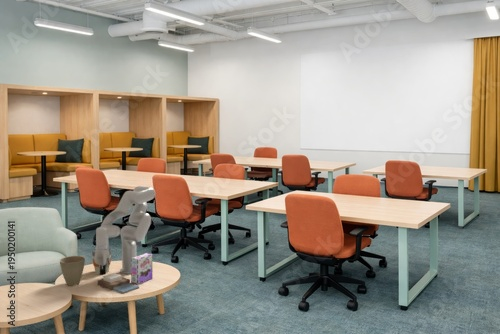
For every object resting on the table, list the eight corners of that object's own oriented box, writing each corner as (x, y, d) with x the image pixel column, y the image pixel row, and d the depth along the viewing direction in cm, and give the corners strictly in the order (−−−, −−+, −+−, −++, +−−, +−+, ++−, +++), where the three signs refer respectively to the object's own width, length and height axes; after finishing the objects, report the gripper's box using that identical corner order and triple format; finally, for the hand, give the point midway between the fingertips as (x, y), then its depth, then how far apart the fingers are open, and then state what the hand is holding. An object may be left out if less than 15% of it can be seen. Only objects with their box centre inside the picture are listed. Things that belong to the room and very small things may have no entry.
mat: (128, 284, 288) (128, 282, 288) (139, 288, 282) (139, 286, 282) (112, 289, 278) (112, 288, 278) (123, 293, 272) (123, 292, 272)
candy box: (137, 284, 288) (137, 259, 286) (130, 282, 291) (130, 257, 289) (152, 278, 300) (152, 254, 298) (146, 276, 303) (146, 252, 301)
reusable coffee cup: (108, 274, 305) (107, 253, 304) (89, 274, 305) (89, 252, 304) (114, 269, 318) (113, 247, 316) (96, 268, 318) (95, 247, 317)
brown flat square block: (115, 279, 297) (115, 274, 296) (129, 284, 288) (129, 279, 288) (97, 285, 285) (97, 280, 285) (111, 290, 277) (111, 285, 277)
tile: (113, 276, 293) (113, 272, 293) (121, 279, 288) (121, 275, 288) (103, 280, 286) (103, 276, 286) (111, 282, 282) (111, 278, 281)
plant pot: (66, 279, 295) (66, 255, 293) (89, 280, 294) (88, 256, 293) (55, 287, 280) (55, 262, 279) (79, 288, 279) (78, 263, 278)
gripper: (90, 245, 293) (90, 273, 294) (104, 249, 284) (105, 278, 285) (100, 243, 299) (100, 270, 300) (114, 247, 290) (114, 275, 292)
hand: (102, 274), depth 293 cm, fingers closed
